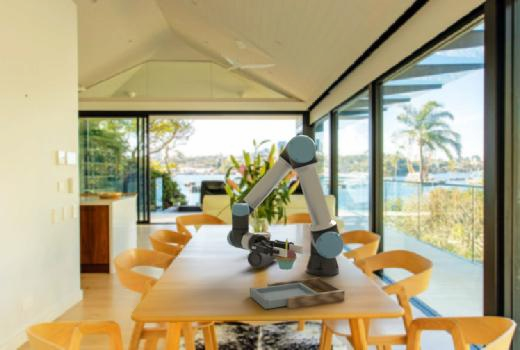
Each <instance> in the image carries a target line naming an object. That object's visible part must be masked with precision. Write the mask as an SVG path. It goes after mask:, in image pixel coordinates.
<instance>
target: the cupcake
mask: <svg viewBox="0 0 520 350" xmlns="http://www.w3.org/2000/svg"><path fill="white" fill-rule="evenodd" d="M285 242H286V250H287V257H282V256H278V255H275V260H276V262H277V263H278V267H279V269H281V270H285V271H287V270H292V269H293V266H294V263H295V261H296V260H297V253H295V252H293V251H292V250H288V249H287V244H288V242H289V240H288V239H285ZM275 260H274V261H275Z"/></svg>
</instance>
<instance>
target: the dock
mask: <svg viewBox="0 0 520 350" xmlns="http://www.w3.org/2000/svg"><path fill="white" fill-rule="evenodd" d="M293 283H302V284H303V285H305V286H307V287H308V288H310V289H312V288H319V289H321V290H322V292H317V293H315V294H308V295H301V296H294V297H287V306H286V308H287V309H296V308H303V307H310V306H316V305H321V304H322V305H323V304H328V303H334V302H341V301H345V290H344V289H343V288H341V287H339V286H337V285H336V284H333V283H331V282H329V281H327V280H325V279H323V278H322V277H319V276H316V277H307V278H301V279H293V280H283V281H277V282H268V283H267V286H266V287H269V286H277V285H285V284H293ZM323 291H324V292H323Z"/></svg>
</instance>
